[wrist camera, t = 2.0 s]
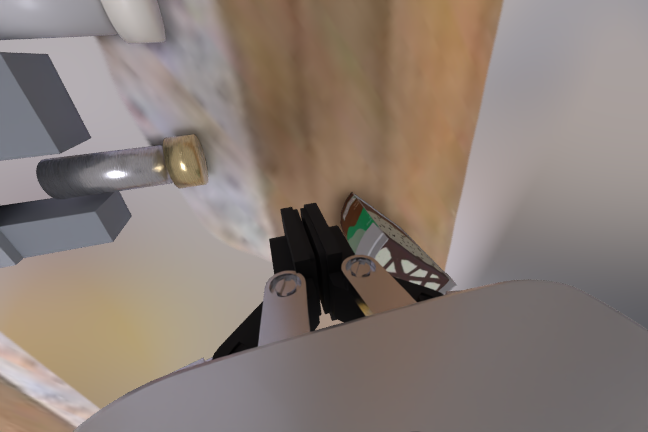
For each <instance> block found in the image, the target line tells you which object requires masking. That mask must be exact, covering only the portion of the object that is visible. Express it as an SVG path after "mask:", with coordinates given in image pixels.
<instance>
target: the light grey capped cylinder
mask: <svg viewBox="0 0 648 432" xmlns="http://www.w3.org/2000/svg"><path fill="white" fill-rule="evenodd" d="M117 34H119V35H120V36H121V38H122V39H123V40H124V41H125V42H127V43H128V44H137V43H157V42H165V39H166V35H165V28H164V23H163V19H162V15H161V12H160V8H159V5H158V2H157V0H0V40H10V39H32V38H56V37H78V36H102V35H117Z"/></svg>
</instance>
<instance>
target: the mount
mask: <svg viewBox="0 0 648 432" xmlns="http://www.w3.org/2000/svg"><path fill="white" fill-rule="evenodd" d="M90 138H91V136H90V135H89V133H88V131H87V129H86V127H85V125H84V123H83V121H82V119H81V117H80V115H79V113H78V111H77V109H76V108H75V106H74V104H73V102H72V100H71V98H70V96H69V94H68V92H67V90H66V88H65V86H64V84H63V83H62V81H61V79H60V77H59V75H58V73H57V71H56V69H55V67H54V65H53V64H52V61H51V60H50V58H49V56H48V54H31V53H6V52H0V161H1V160H9V159H18V158H26V157H35V156H43V155H52V154H60V153H62V152H64V151H66V150H68V149H70V148H72V147H74V146H76V145H78V144H80V143H82V142H84V141H86V140H88V139H90ZM130 218H131V213H130V212H129V210H128V208H127V206H126V204H125V202H124V200H123V198H122V196H121V194H120V192H119V191H116V192H109V193H102V194H96V195H89V196H82V197H75V198H68V199H62V200H59V199H55V198H50V199H44V200H37V201H30V202H23V203H17V204H9V205H2V206H0V268H2V267H7V266H13V265H16V264H17V263H19V262H20V261H21V260H22V259H23V258H26V257H32V256H37V255H43V254H49V253H54V252H59V251H65V250H71V249H76V248H82V247H87V246H92V245H98V244H104V243H109V242H113V241H114V240H115V239H116V237H117V236H118V234H119V233H120V231H121V230H122V229H123V227H124V226H125V225H126V223H127V222H128V220H129V219H130Z"/></svg>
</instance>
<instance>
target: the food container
mask: <svg viewBox="0 0 648 432" xmlns="http://www.w3.org/2000/svg"><path fill="white" fill-rule="evenodd" d="M341 226H342V229H343V232H344V235H345V237H346V239H347V241H348V243H349V245H350V247H351V248H352V250H353V252H354V253H355V255H367V256H370V257H372V258H374V259H375V260H376V261H378V263H379V264H380V265H381V266H382V267H383V268H384V269H385V270H386V271H387V272H388V273H389V274H390V275H391V276H393V277H396V278H399V279H402V280H406V281H409V282H412V283H415V284H418V285H421V286H425V287H428V288H431V289H434V290H436V291H439V292H441V293H442V294H443V295H445V293H446V291H450V290H452V289H453V288H454V287H455V286H456V283H455V282H454V281H453V280H452V279H451V277H450V276H449V275H448V274H447V273H445V272H444V271H443V270H442V269H441V268H440V267H439V266H438V265H437V264H436V263H435V262H434V261H433V260H432V259H431V258H430V257H429V256H428V255H427V254H426V253H425V252H424V251H423V250H422V249H421V248H420V247H419V246H418V245H417V244H416V243H415V242H414V241H413V240H412V239H411V238H410V237H409V236H408V235H407V234H406V233H405V232H404V231H403V230H402V229H401V228H400V227H399V226H398V225H396V224H395V223H393V222H392V221H391V220H389V219H388V218H387V217H385V216H384V215H383V214H381V213H380V212H378V211H377V210H376V209H374V208H373V207H372V206H370V205H369V204H368V203H366V202H365V201H363V200H362V199H361V198H359V197H358V196H357V195H355V194H354V193H353V192H352V193H351V194H350V196H349V197H348V198H347V200H346V202H345V204H344V207H343V209H342V212H341Z"/></svg>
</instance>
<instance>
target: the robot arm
mask: <svg viewBox="0 0 648 432" xmlns="http://www.w3.org/2000/svg"><path fill="white" fill-rule="evenodd" d="M300 211H301V218H300V215H299V213H298V210H297V209H295V210H293V208H292V207H289V208H283V209H281V216H282V222H283V228H284V233H285V236H281V237H276V238H271V239H269V241H270V248H271V255H272V262H273V269H274V275H273V276H272V277H271V278H269V280H268V281H267V282H266V286H265V291H264V299H263V302H262V303H261V304H260V305H259V306H258V307H257V308H256V309H255V310H254V311H253V312H252V313H251V314H250V315H249V316H248V318H246V320H245V321H244V322H243V323H242V324H241V325H240V326H239V327H238V328H237V329H236V330H235V331H234V332H233V333H232V334H231V335H230V336H229V337H228V338H227V340H225V342H224V343H223V344H222V345H221V346H220V347H219V348H218V349H217V351H216V352H215V353H214V355H213V357H212V358H210V359H207V360H206V361H205V360H204V358H201V359H199V360H198V361H195V362H193V363H191V364H189V365H187V366H185V367H183V368H180V369H178V370H176V371H174V372H172V373H170V374H168V375H166V376H163V377H161V378H158V379H156V380H153V381H150V382H149V383H146V384H145V385H142V386H140V387H138V388H136V389H134V390H132V391H131V392H128V393H127V394H125V395H123V396H122V397H120V398H118V399H117V400H115V401H113V402H112V403H110V404H109V405H107V406H106V407H104V408H102V409H101V410H99V411H98V412H97V413H95V414H94V415H92V416H91V417H90V418H88V419H87V420H86V421H84V422H83V423H82V424H81V425H79V426H78V427H77V428H76V429H75V430H74V431H73V432H648V330H647V329H645V328H644V327H643V326H641V325H639V324H638V323H636V322H635V321H633V320H631V319H630V318H628V317H627V316H625V315H623V314H622V313H620V312H619V311H617V310H615V309H614V308H612V307H610V306H609V305H607V304H605V303H604V302H602V301H600V300H598V299H597V298H595V297H593V296H591V295H589V294H588V293H586V292H584V291H582V290H580V289H577V288H575V287H573V286H570V285H567V284H564V283H559V282H553V281H545V280H529V279H528V280H511V281H504V282H498V283H493V284H488V285H484V286H479V287H475V288H471V289H467V290H461V291H446V293H445V295H443V294H442V293H441V292H439V291H436V290H434V289H431V288H428V287H425V286H421V285H418V284H415V283H412V282H409V281H406V280H402V279H399V278H396V277H393V276H391V275H390V274H389V273H388V272H387V271H386V270H385V269H384V268H383V267H382V266H381V265H380V264H379V263H378V261H376V260H375V259H374V258H372V257H370V256H367V255H355V253H354V252H353V250H352V248H351V247H350V245H349V243H348V242H347V240H346V238H345V237H344V235H343V233H342V232H341V230H340V228H339V227H338V226H337V225H336V226H331V227H329V226H328V225H327V223H326V221H325V219H324V217H323V215H322V213H321V211H320V210H319V208H318V206H317V204H316V203H311V204H306V205H304V208H300ZM301 219H302V221H301ZM320 301H321V304H322V307H323V310H324V313H325V314H327V313H329V314H330V316H331V319H332V321H333V320H337V319H338V320H340V321H342V322H344V323H341V324H337V325H333V326H330V327H326V328H322V329H319V330H315V329H316V328H317V326H318V325H319V323H320V321H319V316H320V315H321V306H320Z"/></svg>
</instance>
